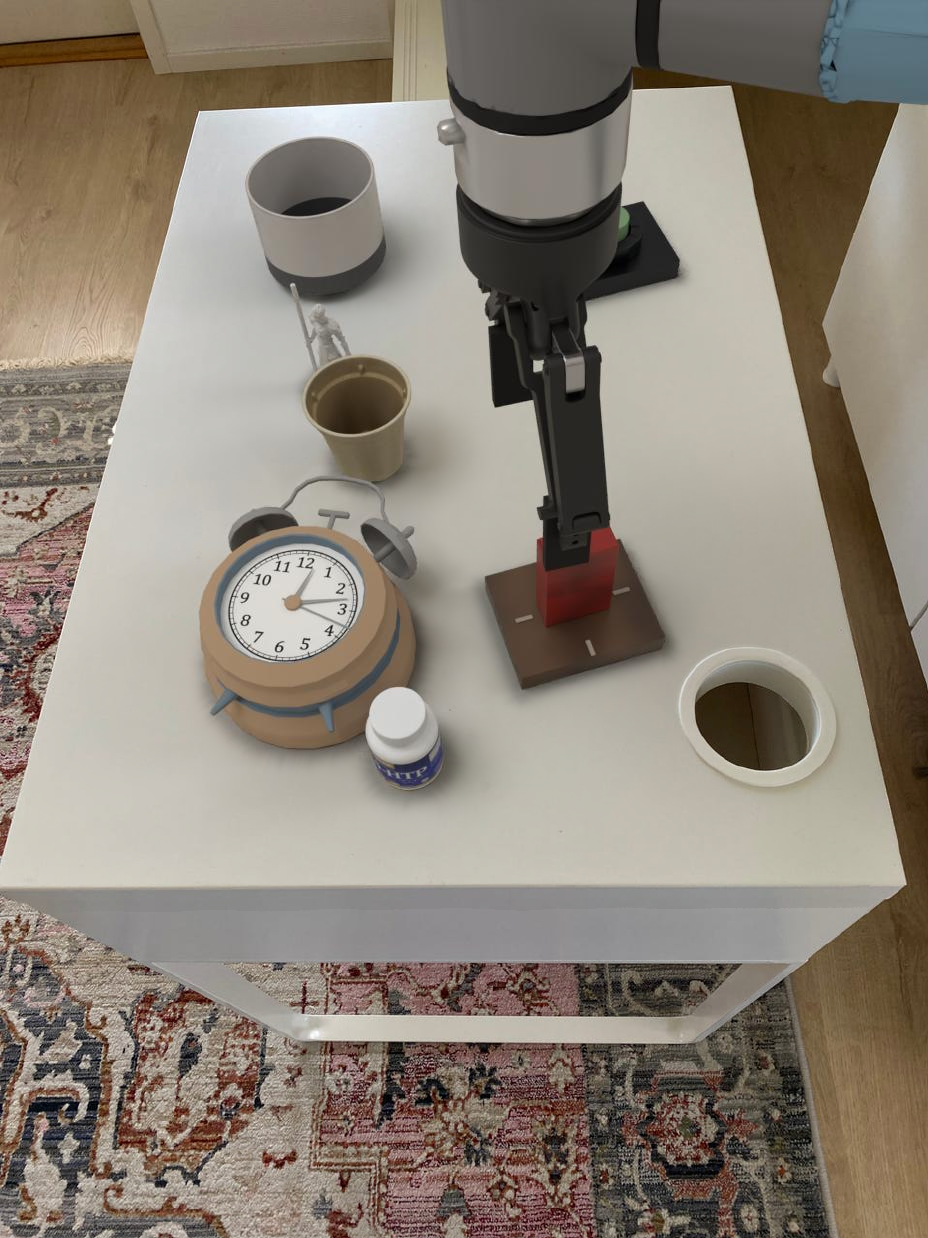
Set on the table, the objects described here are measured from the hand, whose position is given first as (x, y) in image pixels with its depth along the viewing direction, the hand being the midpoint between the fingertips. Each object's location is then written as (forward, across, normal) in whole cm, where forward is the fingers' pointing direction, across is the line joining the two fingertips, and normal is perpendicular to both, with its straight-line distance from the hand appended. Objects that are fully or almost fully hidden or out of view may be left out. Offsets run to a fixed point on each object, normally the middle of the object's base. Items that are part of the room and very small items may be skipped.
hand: (537, 476), depth 60 cm
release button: (+16, -42, +18) cm, 48 cm away
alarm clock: (+20, -5, -17) cm, 27 cm away
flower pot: (+20, -22, -10) cm, 31 cm away
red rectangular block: (+18, 0, +3) cm, 18 cm away
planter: (+20, -50, -11) cm, 54 cm away
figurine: (+20, -31, -12) cm, 39 cm away
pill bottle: (+20, +9, -12) cm, 25 cm away
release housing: (+20, -42, +18) cm, 50 cm away
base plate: (+20, 0, +3) cm, 20 cm away
